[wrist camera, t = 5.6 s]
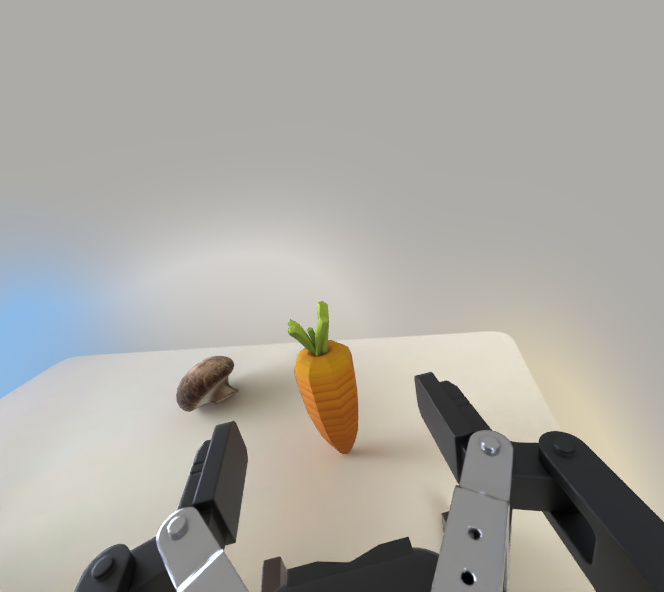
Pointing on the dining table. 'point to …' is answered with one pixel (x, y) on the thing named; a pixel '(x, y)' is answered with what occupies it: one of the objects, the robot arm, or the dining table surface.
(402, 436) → the dining table surface
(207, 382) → the mushroom
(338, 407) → the carrot
